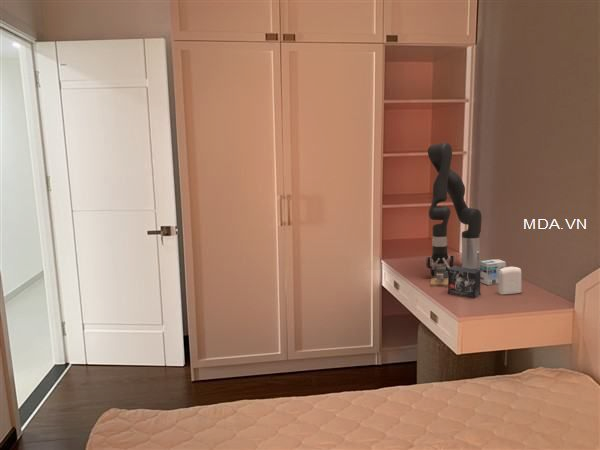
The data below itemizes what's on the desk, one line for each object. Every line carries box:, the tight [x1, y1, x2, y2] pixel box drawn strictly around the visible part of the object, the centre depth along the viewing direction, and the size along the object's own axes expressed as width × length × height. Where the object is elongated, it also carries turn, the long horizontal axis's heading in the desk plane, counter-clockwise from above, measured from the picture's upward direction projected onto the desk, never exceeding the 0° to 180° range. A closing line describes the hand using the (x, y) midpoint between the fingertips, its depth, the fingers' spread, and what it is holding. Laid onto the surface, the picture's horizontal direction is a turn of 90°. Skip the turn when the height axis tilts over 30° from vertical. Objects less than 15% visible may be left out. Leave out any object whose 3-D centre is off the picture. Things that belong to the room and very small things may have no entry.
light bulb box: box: [479, 258, 507, 286], centre depth 238 cm, size 11×7×11 cm, turn 105°
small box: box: [447, 265, 481, 299], centre depth 222 cm, size 13×7×12 cm, turn 47°
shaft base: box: [429, 274, 448, 288], centre depth 241 cm, size 11×11×5 cm
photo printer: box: [497, 266, 522, 295], centre depth 220 cm, size 10×4×12 cm, turn 96°
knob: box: [432, 264, 448, 278], centre depth 250 cm, size 6×6×7 cm
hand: (439, 275), depth 250 cm, fingers open, 7 cm apart
